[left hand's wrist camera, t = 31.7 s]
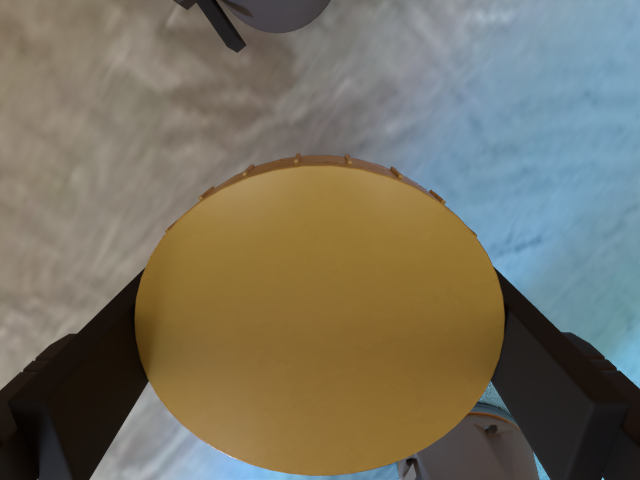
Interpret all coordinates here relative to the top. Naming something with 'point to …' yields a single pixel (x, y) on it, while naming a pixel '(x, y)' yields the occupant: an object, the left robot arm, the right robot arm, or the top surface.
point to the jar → (276, 13)
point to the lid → (319, 317)
